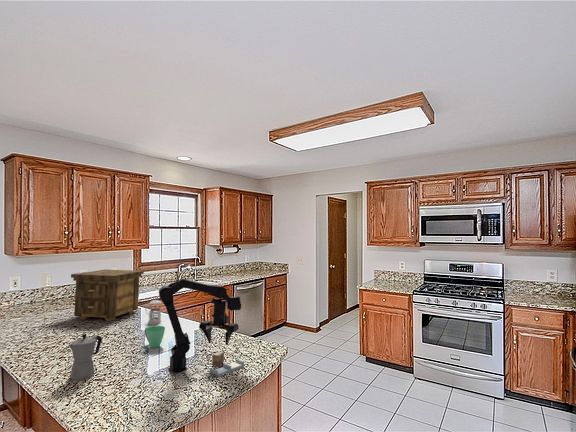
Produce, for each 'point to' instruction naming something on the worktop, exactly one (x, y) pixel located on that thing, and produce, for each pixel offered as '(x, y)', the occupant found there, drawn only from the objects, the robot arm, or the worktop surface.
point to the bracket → (227, 368)
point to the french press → (156, 309)
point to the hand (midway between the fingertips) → (218, 344)
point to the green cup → (154, 335)
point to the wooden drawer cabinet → (106, 293)
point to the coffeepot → (84, 357)
